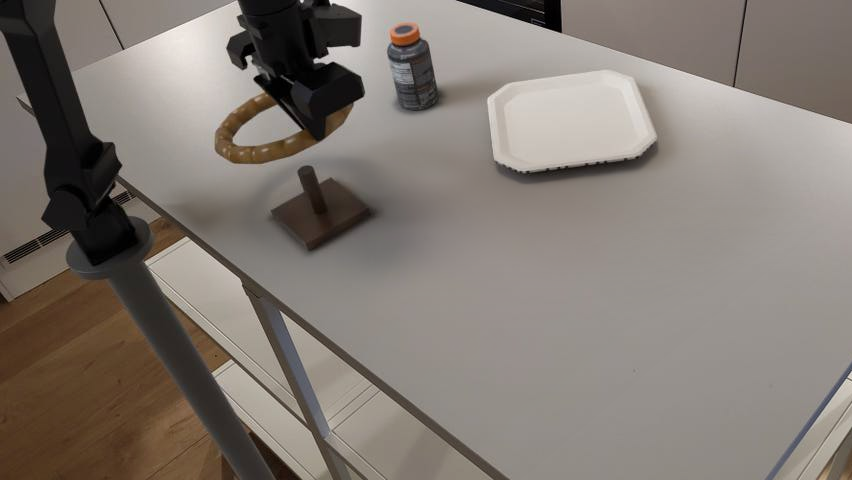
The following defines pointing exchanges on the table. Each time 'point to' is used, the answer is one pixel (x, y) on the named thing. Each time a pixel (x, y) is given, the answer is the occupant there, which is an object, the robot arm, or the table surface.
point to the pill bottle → (411, 67)
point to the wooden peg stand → (319, 210)
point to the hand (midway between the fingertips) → (315, 135)
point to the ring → (269, 150)
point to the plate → (569, 121)
